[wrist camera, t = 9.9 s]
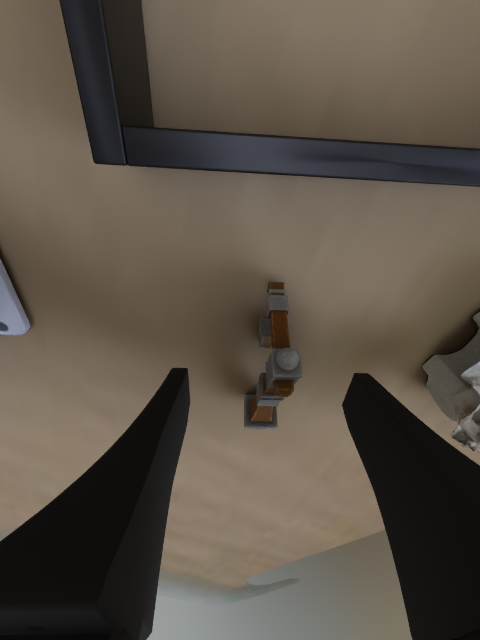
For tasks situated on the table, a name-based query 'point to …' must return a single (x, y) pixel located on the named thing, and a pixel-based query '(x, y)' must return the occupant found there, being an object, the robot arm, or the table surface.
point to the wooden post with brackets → (273, 364)
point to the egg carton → (459, 389)
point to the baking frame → (210, 146)
